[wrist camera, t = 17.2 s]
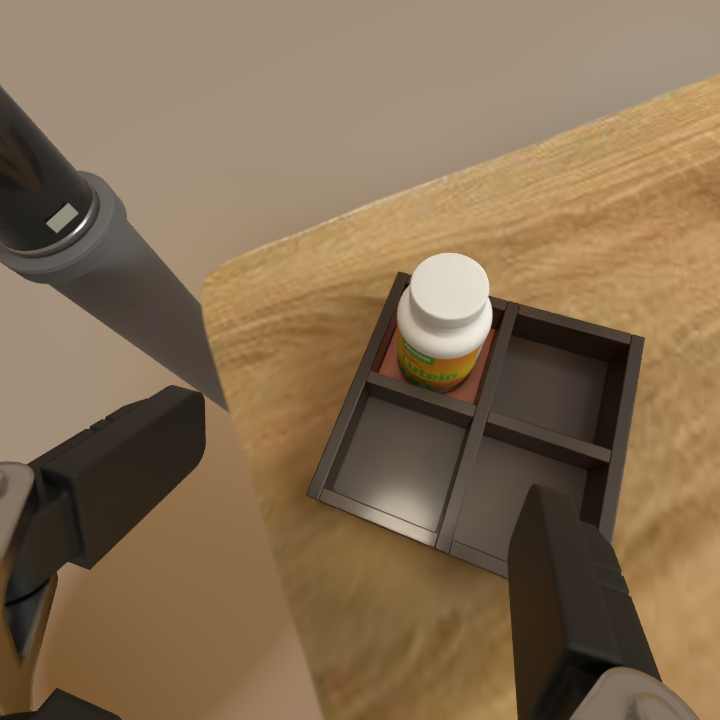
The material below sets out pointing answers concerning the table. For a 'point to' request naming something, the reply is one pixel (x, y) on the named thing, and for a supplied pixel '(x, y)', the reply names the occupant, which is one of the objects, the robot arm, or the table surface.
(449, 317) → the supplement bottle
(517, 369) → the grid
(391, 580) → the table surface
